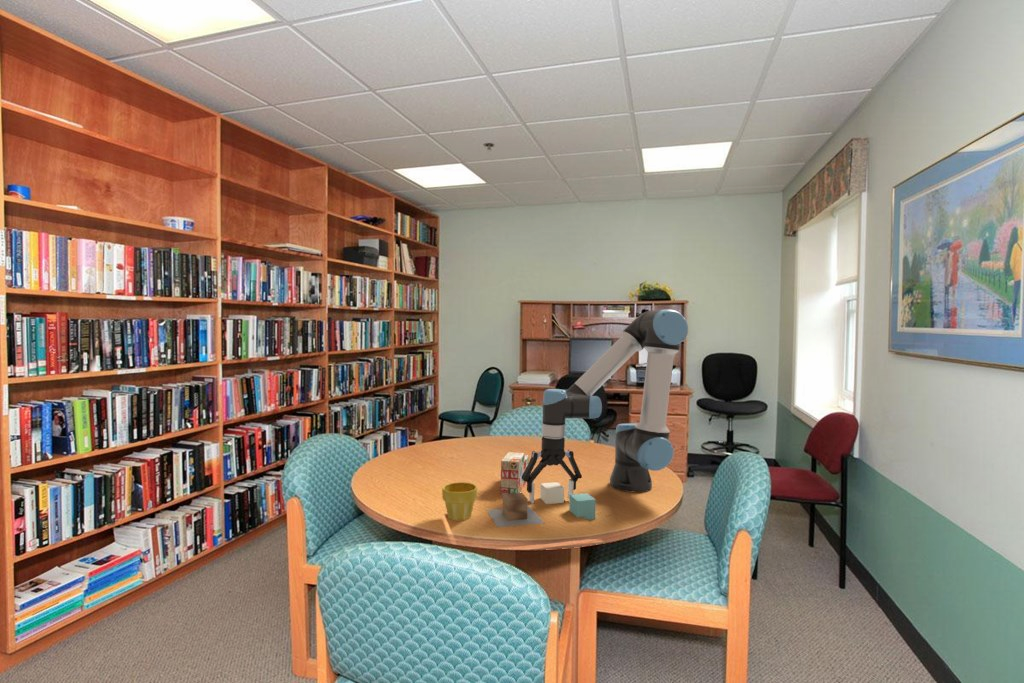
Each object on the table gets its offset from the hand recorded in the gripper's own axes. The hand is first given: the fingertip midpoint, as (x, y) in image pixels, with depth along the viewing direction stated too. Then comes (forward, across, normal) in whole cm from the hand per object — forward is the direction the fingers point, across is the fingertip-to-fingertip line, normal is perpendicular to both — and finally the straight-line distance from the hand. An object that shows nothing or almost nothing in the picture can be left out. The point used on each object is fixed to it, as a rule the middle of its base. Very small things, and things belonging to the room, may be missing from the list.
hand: (551, 500), depth 167 cm
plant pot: (+1, +32, +7) cm, 32 cm away
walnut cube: (0, +16, +11) cm, 19 cm away
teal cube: (+1, -5, +13) cm, 14 cm away
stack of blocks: (+1, +7, -19) cm, 20 cm away
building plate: (+1, +16, +11) cm, 19 cm away
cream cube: (+1, 0, 0) cm, 1 cm away
